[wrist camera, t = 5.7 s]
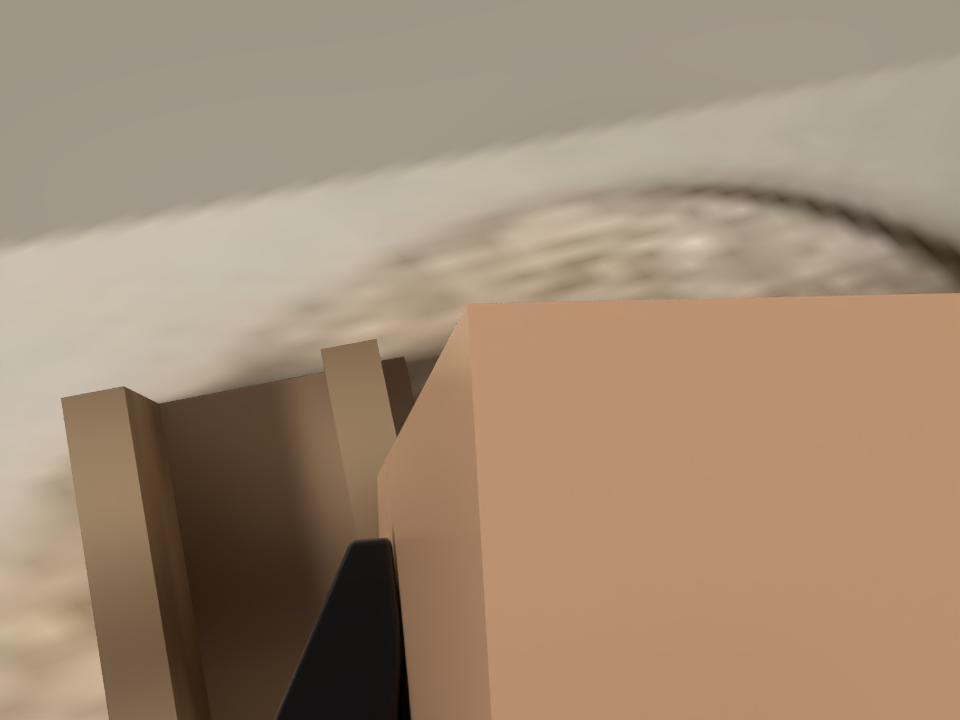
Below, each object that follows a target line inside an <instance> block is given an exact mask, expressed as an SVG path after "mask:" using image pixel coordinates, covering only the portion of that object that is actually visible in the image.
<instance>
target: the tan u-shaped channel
mask: <svg viewBox="0 0 960 720" xmlns="http://www.w3.org/2000/svg"><path fill="white" fill-rule="evenodd" d="M321 354H322V359H323V364H324V369H325V372H321V373H316V374H311V375H306V376H301V377H295V378H290V379H285V380H280V381H275V382H269V383H264V384H259V385H254V386H249V387H244V388H238V389H233V390H228V391H223V392H218V393H212V394H207V395H202V396H197V397H192V398H187V399H181V400H176V401H171V402H166V403H161V404H158V403H156V402H154V401H152V400H150V399H148V398H146V397H144V396H142V395H140V394H138V393H136V392H134V391H132V390H130V389H128V388H126V387H124V386H123V387H118V388H112V389H107V390H102V391H96V392H91V393H86V394H80V395H75V396H70V397H64V398H61V401H62V407H63V414H64V421H65V427H66V434H67V441H68V448H69V454H70V461H71V468H72V474H73V481H74V488H75V494H76V501H77V508H78V514H79V521H80V528H81V535H82V541H83V548H84V555H85V561H86V568H87V575H88V581H89V588H90V595H91V601H92V608H93V615H94V621H95V628H96V635H97V642H98V648H99V655H100V662H101V668H102V675H103V682H104V688H105V695H106V702H107V708H108V715H109V720H274V719H275V716H276V714H277V712H278V709H279V707H280V705H281V702H282V700H283V698H284V695H285V693H286V690H287V688H288V686H289V683H290V681H291V679H292V676H293V674H294V672H295V669H296V667H297V665H298V662H299V660H300V658H301V655H302V653H303V651H304V648H305V646H306V643H307V641H308V639H309V636H310V634H311V632H312V629H313V627H314V625H315V622H316V620H317V618H318V615H319V613H320V611H321V608H322V606H323V604H324V601H325V599H326V597H327V594H328V592H329V589H330V587H331V585H332V582H333V580H334V578H335V575H336V573H337V571H338V568H339V566H340V564H341V561H342V559H343V557H344V554H345V552H346V550H347V547H348V546H349V544H350V543H351V542H352V541H354V540H358V539H371V538H379V517H378V490H377V475H378V473H379V471H380V469H381V467H382V465H383V463H384V461H385V460H386V458H387V456H388V454H389V452H390V450H391V448H392V446H393V444H394V442H395V440H396V439H397V437H398V435H399V433H400V431H401V429H402V427H403V425H404V423H405V421H406V420H407V418H408V416H409V414H410V412H411V410H412V408H413V406H414V401H413V396H412V392H411V387H410V382H409V377H408V373H407V368H406V363H405V359H404V357H399V358H394V359H389V360H383V361H381V359H380V355H379V350H378V345H377V340H376V339H374V340H368V341H363V342H358V343H352V344H347V345H342V346H336V347H331V348H326V349H321Z"/></svg>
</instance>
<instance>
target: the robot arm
mask: <svg viewBox="0 0 960 720" xmlns="http://www.w3.org/2000/svg"><path fill="white" fill-rule="evenodd" d="M274 720H402V630H401V620H400V611H399V602H398V593H397V584H396V575H395V566H394V558H393V549H392V543H391V541H390V540H389V539H388V538H384V537H383V538H371V539H358V540H354V541H352V542H351V543H350V544H349V546H348V547H347V550H346V552H345V554H344V557H343V559H342V561H341V564H340V566H339V568H338V571H337V573H336V575H335V578H334V580H333V582H332V585H331V587H330V589H329V592H328V594H327V597H326V599H325V601H324V604H323V606H322V608H321V611H320V613H319V615H318V618H317V620H316V622H315V625H314V627H313V629H312V632H311V634H310V636H309V639H308V641H307V643H306V646H305V648H304V651H303V653H302V655H301V658H300V660H299V662H298V665H297V667H296V669H295V672H294V674H293V676H292V679H291V681H290V683H289V686H288V688H287V690H286V693H285V695H284V698H283V700H282V702H281V705H280V707H279V709H278V712H277V714H276V716H275V719H274Z"/></svg>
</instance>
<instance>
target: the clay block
mask: <svg viewBox="0 0 960 720" xmlns="http://www.w3.org/2000/svg"><path fill="white" fill-rule="evenodd" d="M377 490H378V517H379V538H383V537H384V538H388V539H389V540H390V541H391V543H392V549H393V558H394V566H395V575H396V584H397V593H398V602H399V611H400V620H401V630H402V720H960V293H942V294H896V295H851V296H806V297H760V298H715V299H669V300H624V301H578V302H533V303H488V304H467V305H466V307H465V309H464V311H463V313H462V315H461V317H460V319H459V321H458V322H457V324H456V326H455V328H454V330H453V332H452V334H451V336H450V338H449V340H448V341H447V343H446V345H445V347H444V349H443V351H442V353H441V355H440V357H439V359H438V361H437V362H436V364H435V366H434V368H433V370H432V372H431V374H430V376H429V378H428V380H427V381H426V383H425V385H424V387H423V389H422V391H421V393H420V395H419V397H418V399H417V400H416V402H415V404H414V406H413V408H412V410H411V412H410V414H409V416H408V418H407V420H406V421H405V423H404V425H403V427H402V429H401V431H400V433H399V435H398V437H397V439H396V440H395V442H394V444H393V446H392V448H391V450H390V452H389V454H388V456H387V458H386V460H385V461H384V463H383V465H382V467H381V469H380V471H379V473H378V475H377Z"/></svg>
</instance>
